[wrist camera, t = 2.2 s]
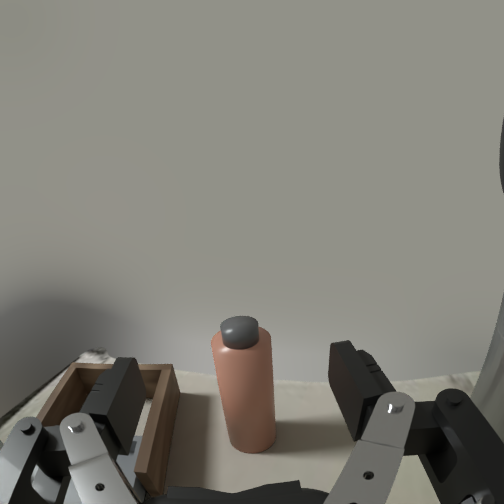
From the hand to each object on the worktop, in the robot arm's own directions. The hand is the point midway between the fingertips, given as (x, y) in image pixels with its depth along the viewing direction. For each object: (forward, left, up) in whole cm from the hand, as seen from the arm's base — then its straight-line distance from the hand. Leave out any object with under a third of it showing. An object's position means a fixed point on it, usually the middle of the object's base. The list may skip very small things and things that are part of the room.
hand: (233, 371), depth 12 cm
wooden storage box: (+17, -13, -20) cm, 29 cm away
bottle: (0, -13, -20) cm, 24 cm away
